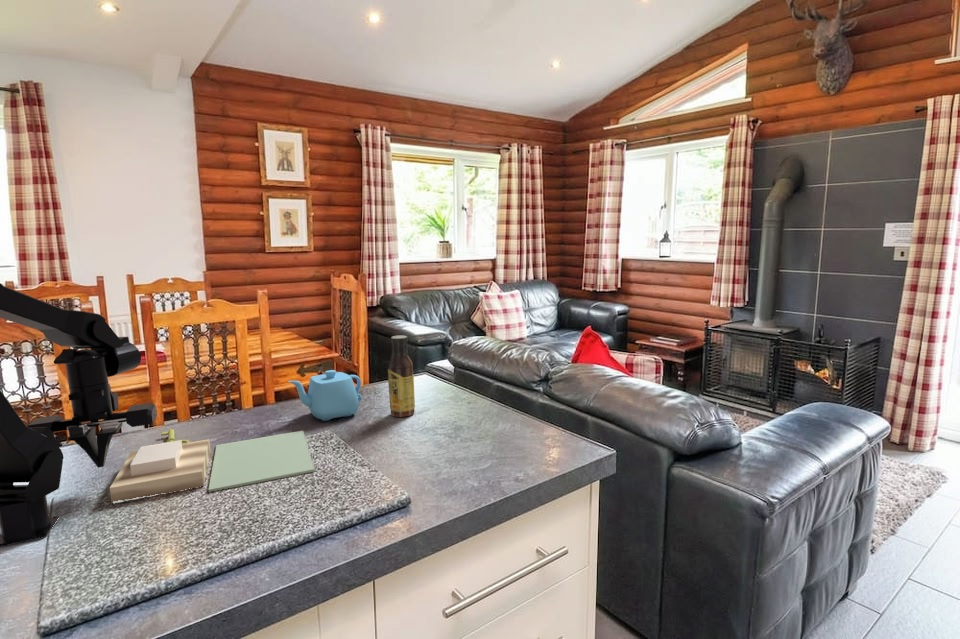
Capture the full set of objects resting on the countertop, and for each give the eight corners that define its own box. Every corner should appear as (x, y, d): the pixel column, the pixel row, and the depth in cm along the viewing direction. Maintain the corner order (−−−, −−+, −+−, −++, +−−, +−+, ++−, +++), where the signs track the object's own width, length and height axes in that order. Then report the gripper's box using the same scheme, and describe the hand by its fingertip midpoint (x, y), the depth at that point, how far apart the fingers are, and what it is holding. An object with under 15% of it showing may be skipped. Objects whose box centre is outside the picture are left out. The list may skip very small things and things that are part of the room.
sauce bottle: (387, 413, 134) (382, 335, 131) (411, 408, 137) (406, 333, 134) (394, 420, 128) (389, 339, 125) (419, 415, 131) (414, 336, 128)
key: (174, 436, 125) (172, 427, 124) (193, 448, 117) (192, 439, 116) (139, 445, 119) (137, 436, 119) (157, 459, 111) (156, 449, 111)
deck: (203, 486, 96) (201, 471, 95) (112, 504, 90) (109, 488, 90) (210, 452, 112) (209, 439, 112) (133, 466, 107) (131, 451, 106)
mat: (314, 471, 100) (314, 469, 100) (208, 492, 93) (208, 489, 93) (303, 432, 122) (303, 430, 122) (216, 447, 115) (216, 445, 115)
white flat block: (176, 468, 97) (174, 457, 97) (131, 475, 94) (130, 465, 94) (182, 449, 106) (181, 440, 106) (142, 456, 104) (140, 446, 103)
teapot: (286, 416, 135) (282, 373, 133) (355, 403, 144) (351, 362, 142) (297, 430, 124) (293, 382, 123) (371, 414, 133) (367, 370, 132)
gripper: (156, 368, 106) (166, 442, 108) (40, 381, 98) (53, 460, 101) (146, 380, 95) (157, 462, 98) (16, 395, 88) (31, 484, 90)
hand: (101, 466), depth 97 cm, fingers closed
